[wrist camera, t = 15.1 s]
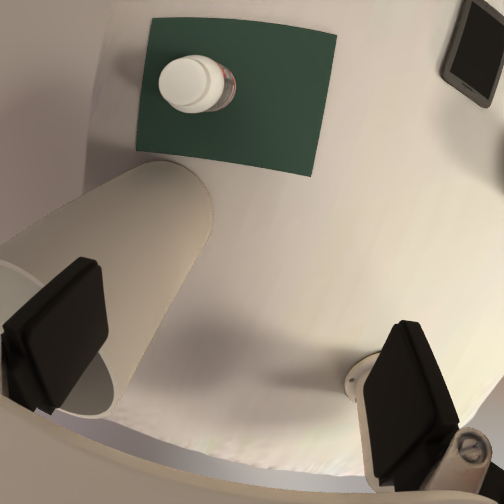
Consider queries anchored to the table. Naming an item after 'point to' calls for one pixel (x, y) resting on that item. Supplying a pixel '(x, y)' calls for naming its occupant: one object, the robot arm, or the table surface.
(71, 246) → the cylinder vase
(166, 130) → the right mat
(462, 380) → the table surface
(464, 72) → the cell phone
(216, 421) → the table surface
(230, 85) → the pill bottle
